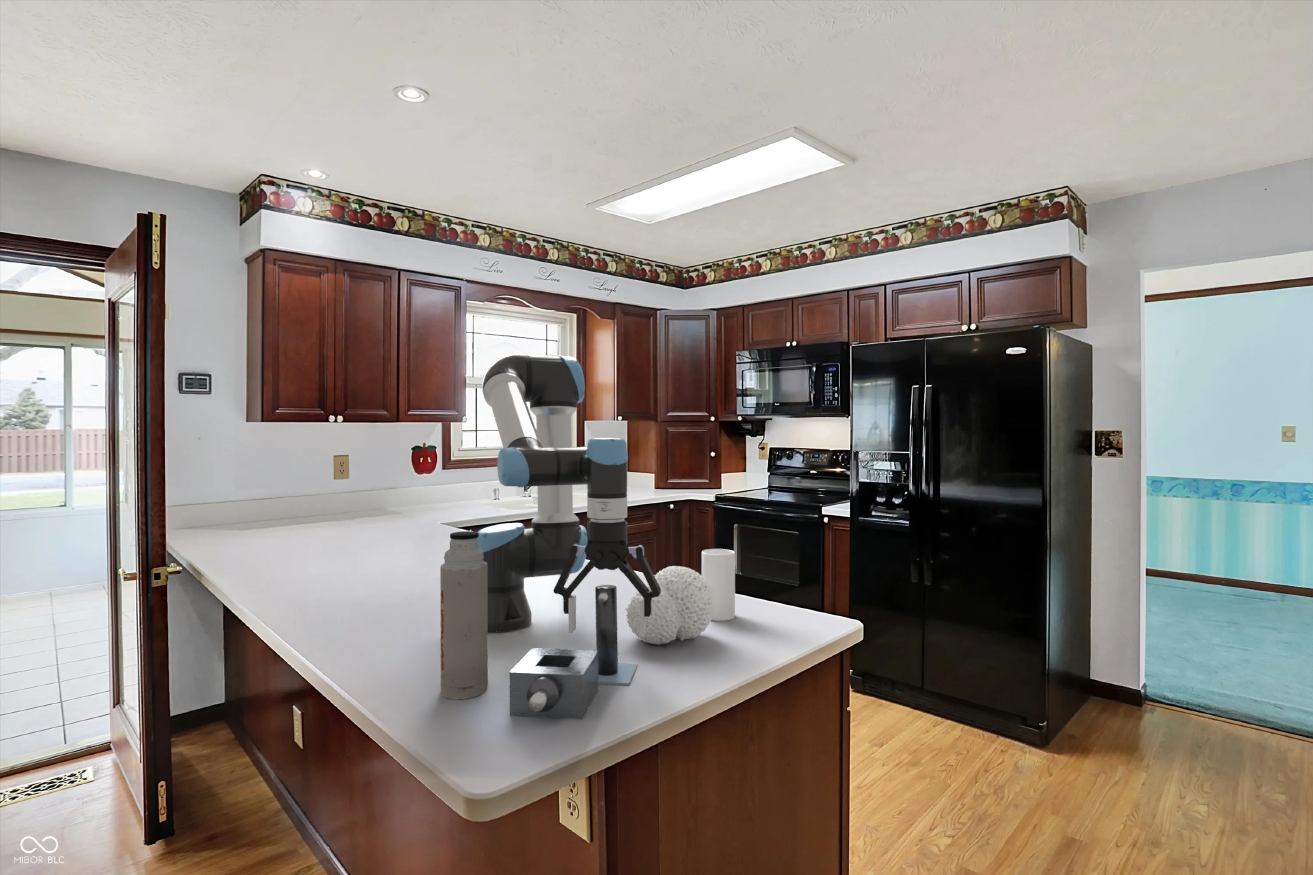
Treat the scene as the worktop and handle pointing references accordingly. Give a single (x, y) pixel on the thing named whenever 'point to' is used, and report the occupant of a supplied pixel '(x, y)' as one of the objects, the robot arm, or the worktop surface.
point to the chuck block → (554, 683)
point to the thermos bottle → (464, 618)
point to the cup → (720, 581)
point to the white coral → (674, 607)
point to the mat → (619, 675)
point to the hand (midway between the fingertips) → (607, 632)
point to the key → (606, 629)
